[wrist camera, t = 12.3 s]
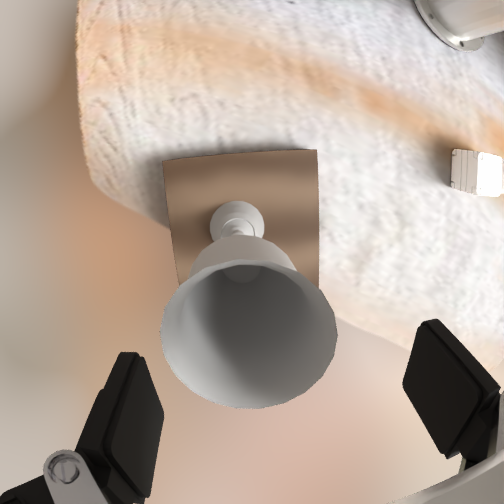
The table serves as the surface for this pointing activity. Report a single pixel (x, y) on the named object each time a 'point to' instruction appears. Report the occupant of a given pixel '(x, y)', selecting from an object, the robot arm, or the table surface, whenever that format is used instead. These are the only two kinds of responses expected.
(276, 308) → the chalice
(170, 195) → the walnut plinth
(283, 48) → the table surface
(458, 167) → the container set
